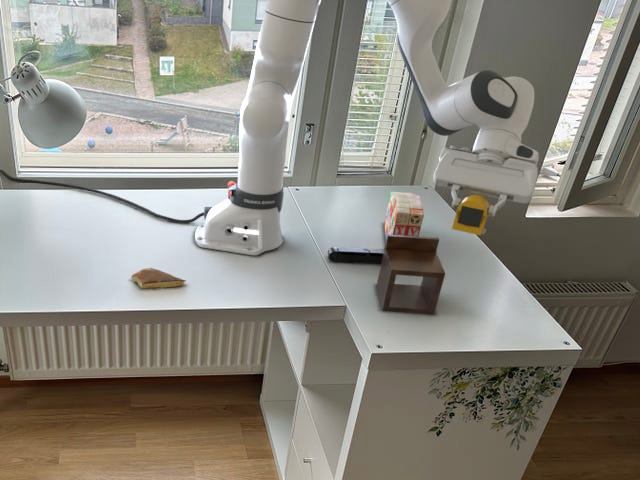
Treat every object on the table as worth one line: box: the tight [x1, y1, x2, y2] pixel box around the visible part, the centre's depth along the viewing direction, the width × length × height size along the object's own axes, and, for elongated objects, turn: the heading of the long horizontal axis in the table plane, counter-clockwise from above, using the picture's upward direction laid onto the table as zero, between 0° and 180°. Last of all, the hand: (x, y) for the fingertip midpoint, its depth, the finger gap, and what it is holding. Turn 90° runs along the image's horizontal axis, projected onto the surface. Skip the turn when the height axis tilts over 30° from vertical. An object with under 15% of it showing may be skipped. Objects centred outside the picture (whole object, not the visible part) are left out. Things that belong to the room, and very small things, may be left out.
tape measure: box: [451, 194, 490, 236], centre depth 147 cm, size 7×4×7 cm, turn 60°
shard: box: [130, 267, 187, 290], centre depth 157 cm, size 11×8×2 cm
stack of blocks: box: [384, 191, 425, 240], centre depth 176 cm, size 21×6×12 cm, turn 168°
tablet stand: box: [327, 246, 384, 265], centre depth 169 cm, size 18×3×3 cm, turn 86°
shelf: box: [376, 234, 446, 315], centre depth 150 cm, size 11×11×13 cm
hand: (472, 211), depth 146 cm, fingers closed on tape measure, 6 cm apart
